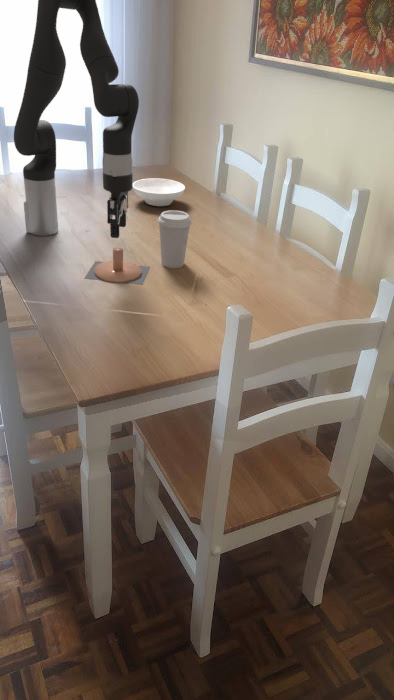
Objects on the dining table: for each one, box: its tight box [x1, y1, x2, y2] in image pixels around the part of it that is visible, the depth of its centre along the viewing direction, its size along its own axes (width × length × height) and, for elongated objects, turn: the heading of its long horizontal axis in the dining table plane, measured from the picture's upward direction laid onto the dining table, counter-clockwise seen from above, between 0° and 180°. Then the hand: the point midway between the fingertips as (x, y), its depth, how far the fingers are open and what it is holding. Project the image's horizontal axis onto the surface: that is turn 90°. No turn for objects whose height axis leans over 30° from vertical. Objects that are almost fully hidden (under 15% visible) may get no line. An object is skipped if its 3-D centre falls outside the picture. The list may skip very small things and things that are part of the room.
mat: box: [84, 260, 151, 285], centre depth 160 cm, size 16×12×1 cm
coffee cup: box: [157, 209, 193, 269], centre depth 164 cm, size 10×10×15 cm
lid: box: [94, 247, 142, 283], centre depth 158 cm, size 13×13×7 cm
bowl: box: [132, 177, 186, 207], centre depth 213 cm, size 20×20×7 cm
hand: (118, 231), depth 153 cm, fingers open, 8 cm apart
